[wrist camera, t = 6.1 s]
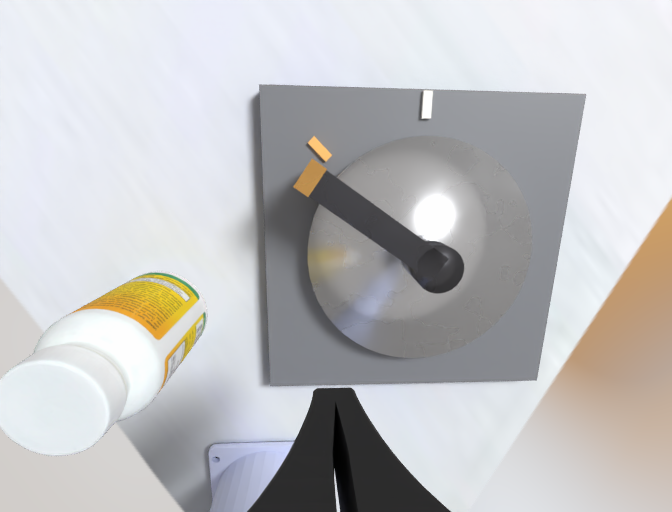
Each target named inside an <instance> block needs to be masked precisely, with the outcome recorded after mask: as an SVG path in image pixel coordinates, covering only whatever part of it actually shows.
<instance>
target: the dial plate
mask: <svg viewBox="0 0 672 512" xmlns="http://www.w3.org/2000/svg"><path fill="white" fill-rule="evenodd" d="M259 91H260V119H261V146H262V174H263V201H264V229H265V256H266V284H267V311H268V339H269V366H270V386H301V385H346V384H392V383H437V382H483V381H529V380H537V376H538V370H539V364H540V358H541V353H542V347H543V341H544V335H545V329H546V324H547V318H548V312H549V306H550V301H551V295H552V289H553V283H554V277H555V272H556V266H557V260H558V254H559V249H560V243H561V237H562V231H563V225H564V220H565V214H566V208H567V202H568V197H569V191H570V185H571V179H572V173H573V168H574V162H575V156H576V150H577V145H578V139H579V133H580V127H581V121H582V116H583V110H584V104H585V98H586V94H568V93H534V92H500V91H465V90H431V89H397V88H362V87H328V86H294V85H260V84H259ZM418 136H440V137H445V138H451V139H456V140H459V141H462V142H465V143H468V144H471V145H473V146H475V147H477V148H479V149H481V150H482V151H484V152H485V153H487V154H488V155H490V156H491V157H493V158H494V159H495V160H496V161H497V162H499V163H500V164H501V165H502V166H503V167H504V168H505V169H506V170H507V172H508V173H509V174H510V175H511V177H512V178H513V179H514V180H515V182H516V184H517V186H518V187H519V189H520V191H521V193H522V195H523V197H524V200H525V202H526V205H527V207H528V212H529V216H530V220H531V228H532V251H531V257H530V263H529V267H528V270H527V274H526V277H525V280H524V282H523V284H522V287H521V289H520V291H519V293H518V295H517V296H516V298H515V300H514V301H513V303H512V304H511V306H510V307H509V308H508V310H507V311H506V312H505V314H504V315H503V316H502V317H501V318H500V319H499V320H498V321H497V322H496V323H495V324H494V325H493V326H492V327H491V328H490V329H489V330H487V331H486V332H485V333H484V334H482V335H481V336H479V337H478V338H476V339H475V340H473V341H472V342H470V343H468V344H466V345H464V346H462V347H460V348H458V349H455V350H453V351H450V352H447V353H444V354H440V355H436V356H430V357H422V358H402V357H393V356H389V355H384V354H380V353H377V352H375V351H372V350H369V349H367V348H365V347H363V346H361V345H359V344H357V343H356V342H354V341H353V340H351V339H350V338H349V337H347V336H346V335H344V334H343V333H342V332H341V331H340V330H339V329H338V328H337V327H336V326H335V325H334V324H333V323H332V322H331V320H330V319H329V318H328V317H327V315H326V314H325V312H324V311H323V309H322V307H321V306H320V304H319V302H318V300H317V297H316V295H315V293H314V290H313V287H312V283H311V280H310V276H309V268H308V241H309V234H310V228H311V225H312V221H313V217H314V214H315V212H316V210H317V207H318V205H319V203H318V202H316V201H315V200H313V199H312V198H310V197H307V196H306V195H304V194H303V193H301V192H300V191H298V190H297V189H295V188H294V187H293V186H294V185H295V183H296V182H297V180H298V179H299V177H300V176H301V174H302V173H303V171H304V170H305V168H306V167H307V165H308V164H309V162H310V161H311V159H314V160H315V161H317V162H318V163H319V164H321V165H322V166H323V167H325V168H326V169H327V171H328V172H330V173H331V174H333V175H334V176H335V177H337V176H338V175H339V174H340V173H341V172H342V171H343V170H344V169H345V168H346V167H347V166H349V165H350V164H351V163H352V162H354V161H355V160H356V159H358V158H359V157H361V156H362V155H364V154H366V153H368V152H369V151H371V150H373V149H375V148H377V147H380V146H382V145H385V144H387V143H390V142H392V141H396V140H400V139H404V138H409V137H418Z"/></svg>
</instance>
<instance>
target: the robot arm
mask: <svg viewBox="0 0 672 512" xmlns="http://www.w3.org/2000/svg"><path fill="white" fill-rule="evenodd" d="M208 457H209V468H210V479H211V490H212V501H213V502H212V506H211V509H210V512H337V510H336V498H335V484H334V468H335V475H336V483H337V490H338V497H339V504H340V512H451V511H450V510H448V509H447V508H446V507H445V506H444V505H443V504H442V503H441V502H439V501H438V500H437V499H436V498H435V497H434V496H433V495H432V494H431V493H430V492H429V491H428V490H426V489H425V488H424V487H423V486H422V485H421V484H420V483H419V482H418V480H417V479H416V478H415V477H414V476H413V475H412V474H411V473H410V472H409V471H408V470H407V469H406V467H405V466H404V465H403V464H402V463H401V462H400V461H399V459H398V458H397V457H396V456H395V454H394V453H393V452H392V451H391V449H390V448H389V447H388V445H387V444H386V443H385V441H384V440H383V439H382V437H381V436H380V434H379V433H378V432H377V430H376V428H375V427H374V425H373V424H372V422H371V421H370V419H369V418H368V416H367V414H366V413H365V411H364V409H363V407H362V406H361V404H360V402H359V400H358V398H357V396H356V394H355V391H354V390H353V389H352V388H317V389H316V390H314V391H313V397H312V401H311V405H310V408H309V410H308V413H307V416H306V418H305V420H304V423H303V425H302V427H301V429H300V432H299V434H298V436H297V438H296V439H295V441H290V442H258V443H226V444H213V445H212V446H211V447H210V449H209V452H208ZM215 457H218V458H215Z"/></svg>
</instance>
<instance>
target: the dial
mask: <svg viewBox="0 0 672 512" xmlns="http://www.w3.org/2000/svg"><path fill="white" fill-rule="evenodd" d="M293 187H294V188H295V189H297V190H298V191H300V192H301V193H303V194H304V195H306V196H307V197H310V198H312V199H313V200H315V201H316V202H318V203H319V205H318V207H317V210H316V212H315V214H314V217H313V221H312V225H311V228H310V234H309V241H308V268H309V276H310V280H311V283H312V287H313V290H314V293H315V295H316V297H317V300H318V302H319V304H320V306H321V307H322V309H323V311H324V312H325V314H326V315H327V317H328V318H329V319H330V320H331V322H332V323H333V324H334V325H335V326H336V327H337V328H338V329H339V330H340V331H341V332H342V333H343V334H344V335H346V336H347V337H349V338H350V339H351V340H353V341H354V342H356V343H357V344H359V345H361V346H363V347H365V348H367V349H369V350H372V351H375V352H377V353H380V354H384V355H389V356H393V357H402V358H422V357H430V356H436V355H440V354H444V353H447V352H450V351H453V350H455V349H458V348H460V347H462V346H464V345H466V344H468V343H470V342H472V341H473V340H475V339H476V338H478V337H479V336H481V335H482V334H484V333H485V332H486V331H487V330H489V329H490V328H491V327H492V326H493V325H494V324H495V323H496V322H497V321H498V320H499V319H500V318H501V317H502V316H503V315H504V314H505V312H506V311H507V310H508V308H509V307H510V306H511V304H512V303H513V301H514V300H515V298H516V296H517V295H518V293H519V291H520V289H521V287H522V284H523V282H524V280H525V277H526V274H527V270H528V267H529V263H530V257H531V251H532V228H531V220H530V216H529V212H528V207H527V205H526V202H525V200H524V197H523V195H522V193H521V191H520V189H519V187H518V186H517V184H516V182H515V180H514V179H513V178H512V177H511V175H510V174H509V173H508V172H507V170H506V169H505V168H504V167H503V166H502V165H501V164H500V163H499V162H497V161H496V160H495V159H494V158H493V157H491V156H490V155H488V154H487V153H485V152H484V151H482V150H481V149H479V148H477V147H475V146H473V145H471V144H468V143H465V142H462V141H459V140H456V139H451V138H445V137H440V136H418V137H409V138H404V139H400V140H396V141H392V142H390V143H387V144H385V145H382V146H380V147H377V148H375V149H373V150H371V151H369V152H368V153H366V154H364V155H362V156H361V157H359V158H358V159H356V160H355V161H354V162H352V163H351V164H350V165H349V166H347V167H346V168H345V169H344V170H343V171H342V172H341V173H340V174H339V175H338V176H337V177H335V176H334V175H333V174H331V173H330V172H328V171H327V169H326V168H325V167H323V166H322V165H321V164H319V163H318V162H317V161H315V160H314V159H311V161H310V162H309V164H308V165H307V167H306V168H305V170H304V171H303V173H302V174H301V176H300V177H299V179H298V180H297V182H296V183H295V185H294V186H293Z"/></svg>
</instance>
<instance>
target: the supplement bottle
mask: <svg viewBox="0 0 672 512" xmlns="http://www.w3.org/2000/svg"><path fill="white" fill-rule="evenodd" d="M207 317H208V313H207V306H206V302H205V299H204V297H203V296H202V294H201V292H200V291H199V289H198V288H197V287H195V286H194V285H193V284H192V283H191V282H190V281H188V280H187V279H185V278H183V277H181V276H179V275H177V274H174V273H170V272H164V271H155V272H149V273H145V274H142V275H140V276H138V277H136V278H134V279H132V280H130V281H129V282H127V283H125V284H123V285H121V286H119V287H117V288H116V289H114V290H112V291H110V292H108V293H107V294H105V295H103V296H101V297H99V298H98V299H96V300H94V301H92V302H90V303H88V304H87V305H85V306H83V307H81V308H80V309H78V310H76V311H74V312H72V313H70V314H69V315H67V316H65V317H63V318H61V319H60V320H58V321H57V322H55V323H54V324H53V325H52V326H50V327H49V328H48V329H47V330H46V331H45V333H44V334H43V335H42V337H41V338H40V339H39V341H38V343H37V345H36V347H35V350H34V353H33V354H32V355H30V356H29V357H28V358H26V359H25V360H23V361H22V362H20V363H19V364H17V365H16V366H14V367H13V368H12V369H10V370H9V371H8V372H7V373H5V374H4V376H3V377H2V378H1V379H0V428H1V429H2V431H3V432H4V433H5V434H6V435H7V436H8V437H9V438H10V439H11V440H13V441H14V442H15V443H17V444H18V445H20V446H22V447H24V448H25V449H28V450H30V451H32V452H35V453H39V454H44V455H48V456H66V455H72V454H76V453H79V452H82V451H84V450H86V449H88V448H90V447H91V446H93V445H94V444H95V443H97V442H98V441H99V440H100V439H101V438H102V437H103V435H104V434H105V433H106V432H107V431H108V430H109V428H110V427H111V426H112V425H113V424H114V423H115V422H117V421H121V420H124V419H127V418H129V417H131V416H133V415H135V414H137V413H138V412H140V411H141V410H143V409H144V408H145V407H146V406H148V405H149V404H150V403H151V402H152V400H153V399H154V398H155V397H156V396H157V394H158V393H159V392H160V390H161V389H162V388H163V386H164V385H165V384H166V382H167V381H168V380H169V378H170V377H171V376H172V374H173V373H174V372H175V370H176V369H177V367H178V366H179V365H180V363H181V362H182V361H183V359H184V358H185V357H186V355H187V354H188V353H189V351H190V350H191V349H192V347H193V346H194V344H195V343H196V342H197V340H198V339H199V337H200V336H201V335H202V333H203V331H204V329H205V326H206V323H207Z"/></svg>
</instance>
